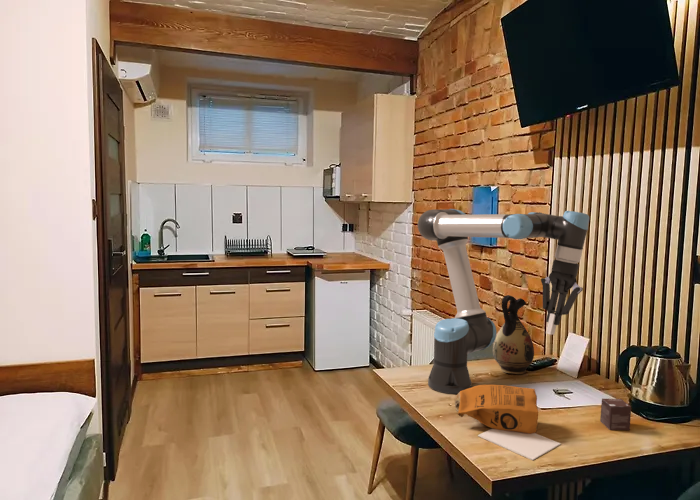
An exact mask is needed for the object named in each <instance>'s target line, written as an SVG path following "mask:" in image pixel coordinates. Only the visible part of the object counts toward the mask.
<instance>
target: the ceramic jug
mask: <svg viewBox="0 0 700 500" xmlns="http://www.w3.org/2000/svg"><path fill="white" fill-rule="evenodd" d="M508 302H509V306H508ZM526 304H527V302H526V301H525V300H524V299H523V298H521V297H520V298H518V299H516V297H514V296H512V295H504V296H503V298H502V299H501V310H502V314H503V319H504V323H503V324H502V325H501V327H500V329H499V330H498V331H497V332H496V339H495V341H494V342H493V344H492V355H493V358H494V360H495V362H496V363H497V364H498V365H499V367H500V371H501V372H503V373H504V374H505V373H507V374H514V375H523V374H526V373H527V368H528V367H529V366H531V364H532V363H533V361H534V357H535V347H534V343H533V341H532V337H531V335H530V333H529V331H528V330H527V329H526V327H525V325H524V324H523V323H522V321H521V319H520V317H519V315H518V312H519V310H520V309H521V308H523V307H524V306H526Z"/></svg>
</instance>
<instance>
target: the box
mask: <svg viewBox="0 0 700 500" xmlns="http://www.w3.org/2000/svg"><path fill="white" fill-rule="evenodd" d="M600 407H601V409H600V419H599V420H600V423H601V424H602V425H604V426H605V427H606V428H607V429H608V430H610V431H630V430H631V429H630V428H631V419H632V418H631V417H632V416H631V415H632V406H631V405H630V404H629V403H628V402H626V401H625V400H623V399H622V398H601V406H600Z"/></svg>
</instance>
